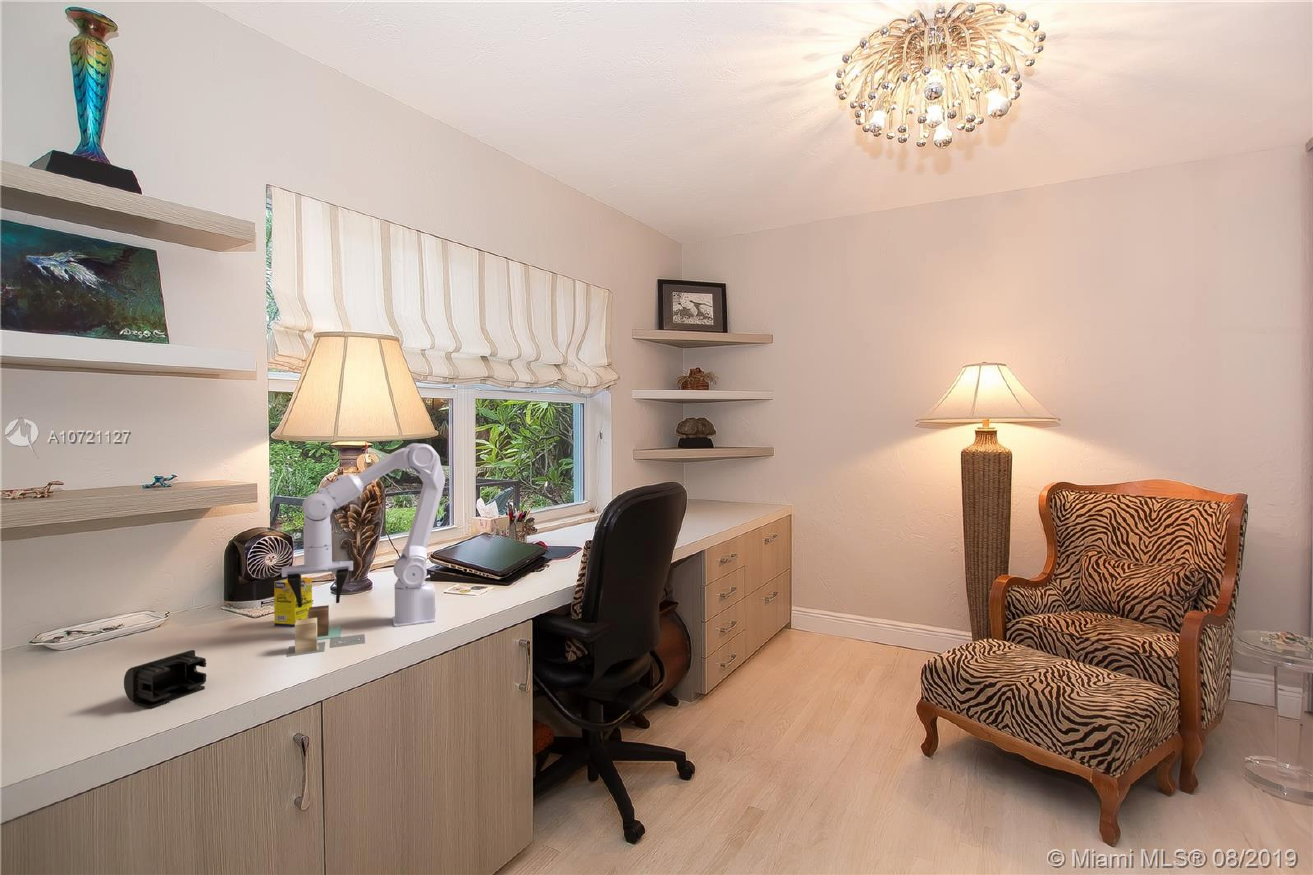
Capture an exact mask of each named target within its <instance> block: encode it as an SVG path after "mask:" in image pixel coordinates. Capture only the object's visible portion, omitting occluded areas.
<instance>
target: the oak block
mask: <svg viewBox="0 0 1313 875" xmlns="http://www.w3.org/2000/svg"><path fill="white" fill-rule="evenodd" d="M317 643H318V640H317V618H309V619H301V620H296V623H295V627H294V646H295V653H301V652H308V651H316V650H317Z"/></svg>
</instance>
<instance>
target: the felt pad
mask: <svg viewBox="0 0 1313 875" xmlns="http://www.w3.org/2000/svg"><path fill="white" fill-rule="evenodd" d="M341 632H342V625H337V626H336V625H335V626H329V634H328V636H320V637H317V641H322V640H331V638H338V637H342V636H341V635H342V633H341Z"/></svg>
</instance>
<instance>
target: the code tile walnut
mask: <svg viewBox="0 0 1313 875" xmlns="http://www.w3.org/2000/svg"><path fill="white" fill-rule="evenodd" d="M365 635H366V634H365V633H362V634H361V633H360V634H354V635H346V636H341V637H338V638H331V639H329V640H330V642H329V643H330V644H329V649H332V648H333V649H334V648H339V647H340V648H341V647H347V646H355V645H356V646H357V645H362V644H366V637H365Z"/></svg>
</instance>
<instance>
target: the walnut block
mask: <svg viewBox="0 0 1313 875" xmlns="http://www.w3.org/2000/svg"><path fill="white" fill-rule="evenodd" d="M329 607H330V606H329V605H327V604H326V605H318V606H312V607H309V610H308V619H309V618H317V637H320V636H328V634H329V627H330V612H329V611H330V610H329V609H330V608H329Z"/></svg>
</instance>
